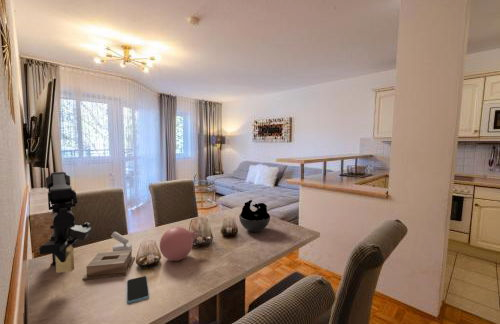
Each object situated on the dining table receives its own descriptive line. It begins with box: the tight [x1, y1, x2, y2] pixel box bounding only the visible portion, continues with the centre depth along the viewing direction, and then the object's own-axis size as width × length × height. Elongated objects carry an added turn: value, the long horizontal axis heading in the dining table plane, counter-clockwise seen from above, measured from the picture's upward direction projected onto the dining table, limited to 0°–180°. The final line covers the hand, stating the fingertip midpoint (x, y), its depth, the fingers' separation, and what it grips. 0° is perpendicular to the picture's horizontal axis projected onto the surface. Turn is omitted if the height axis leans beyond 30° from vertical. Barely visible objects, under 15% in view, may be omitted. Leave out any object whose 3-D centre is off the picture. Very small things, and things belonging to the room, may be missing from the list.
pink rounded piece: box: [159, 226, 201, 262], centre depth 112 cm, size 15×20×15 cm
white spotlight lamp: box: [110, 231, 133, 252], centre depth 119 cm, size 9×10×10 cm
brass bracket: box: [55, 243, 75, 274], centre depth 87 cm, size 2×5×10 cm, turn 104°
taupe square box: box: [82, 249, 136, 281], centre depth 102 cm, size 15×16×5 cm
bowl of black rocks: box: [238, 199, 271, 233], centre depth 147 cm, size 20×20×19 cm
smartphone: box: [126, 275, 150, 304], centre depth 88 cm, size 7×1×15 cm
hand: (64, 260), depth 87 cm, fingers closed on brass bracket, 2 cm apart
